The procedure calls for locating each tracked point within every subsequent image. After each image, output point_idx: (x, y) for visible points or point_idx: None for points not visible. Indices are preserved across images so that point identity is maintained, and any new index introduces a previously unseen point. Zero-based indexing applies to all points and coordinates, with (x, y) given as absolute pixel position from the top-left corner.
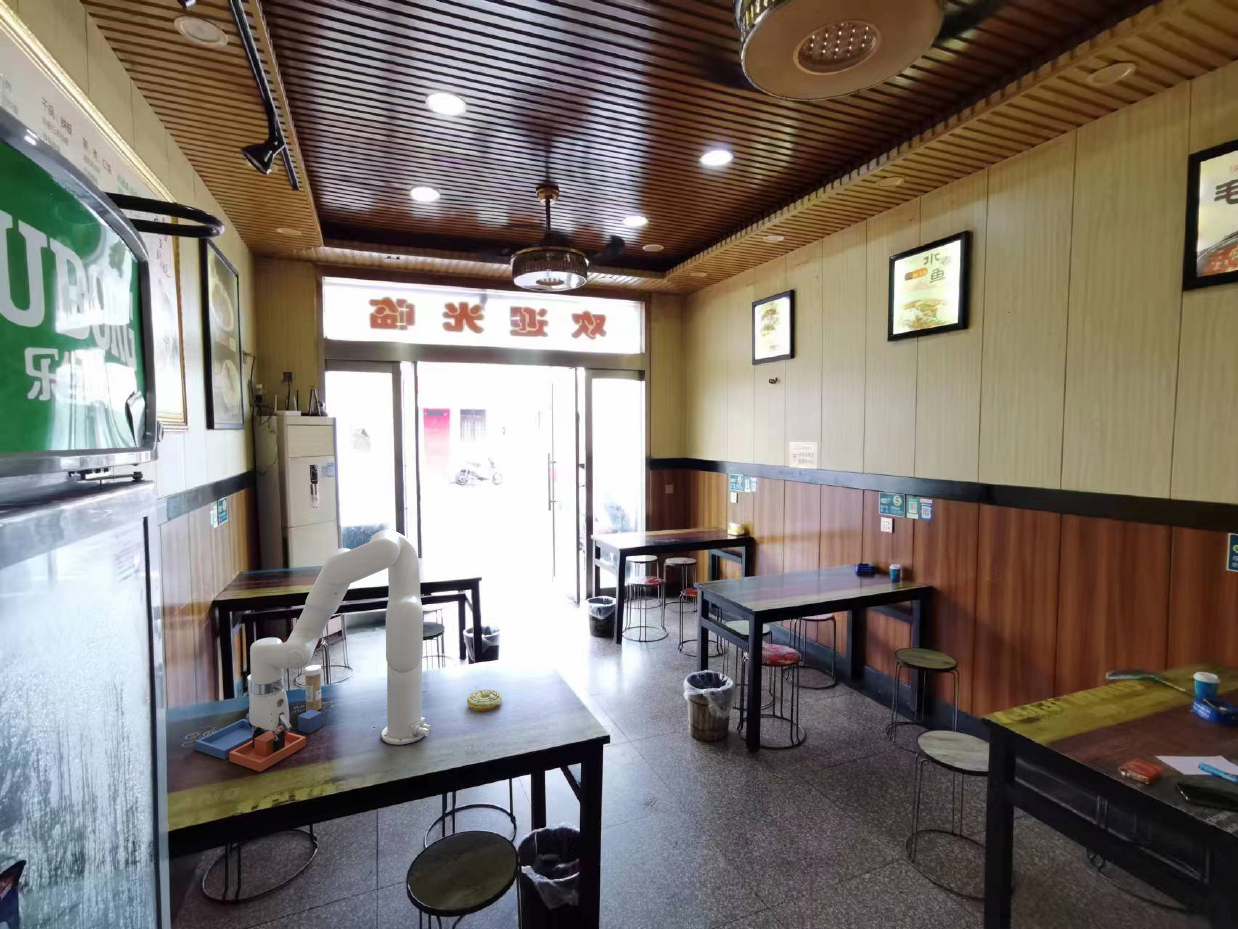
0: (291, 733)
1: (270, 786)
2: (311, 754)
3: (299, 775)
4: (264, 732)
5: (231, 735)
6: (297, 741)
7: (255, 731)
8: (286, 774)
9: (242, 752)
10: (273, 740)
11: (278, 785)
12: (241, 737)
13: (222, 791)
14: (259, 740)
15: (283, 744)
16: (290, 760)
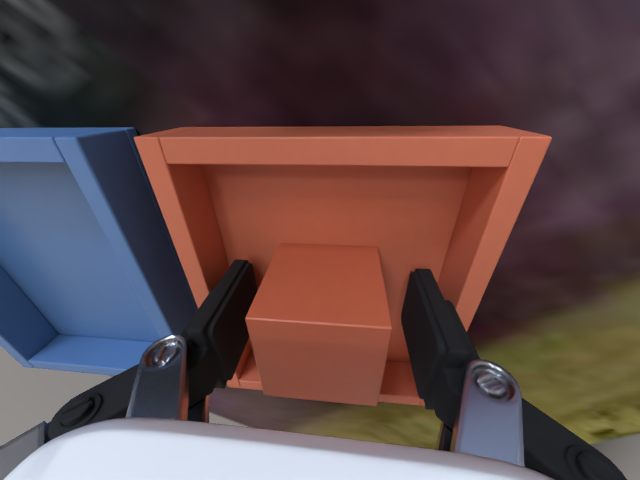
0: (347, 146)
1: (533, 401)
2: (616, 195)
3: (634, 345)
4: (221, 318)
5: (5, 239)
6: (510, 225)
7: (206, 393)
8: (556, 352)
9: None
10: (430, 407)
11: (564, 394)
12: (62, 236)
13: (388, 428)
14: (313, 395)
15: (459, 324)
16: (501, 281)
